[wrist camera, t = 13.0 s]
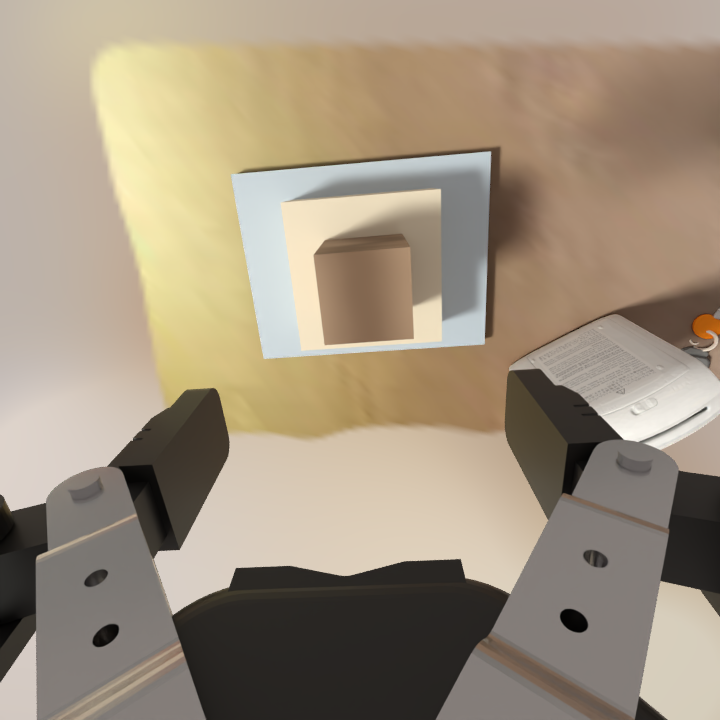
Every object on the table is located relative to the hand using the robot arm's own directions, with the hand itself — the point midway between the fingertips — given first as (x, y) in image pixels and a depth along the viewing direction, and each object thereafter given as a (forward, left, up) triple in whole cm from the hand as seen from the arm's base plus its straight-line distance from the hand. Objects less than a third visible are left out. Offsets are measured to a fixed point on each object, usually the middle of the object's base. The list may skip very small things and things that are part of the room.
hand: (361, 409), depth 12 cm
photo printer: (-16, +9, -23) cm, 30 cm away
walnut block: (0, 0, -18) cm, 18 cm away
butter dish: (0, 0, -23) cm, 23 cm away
